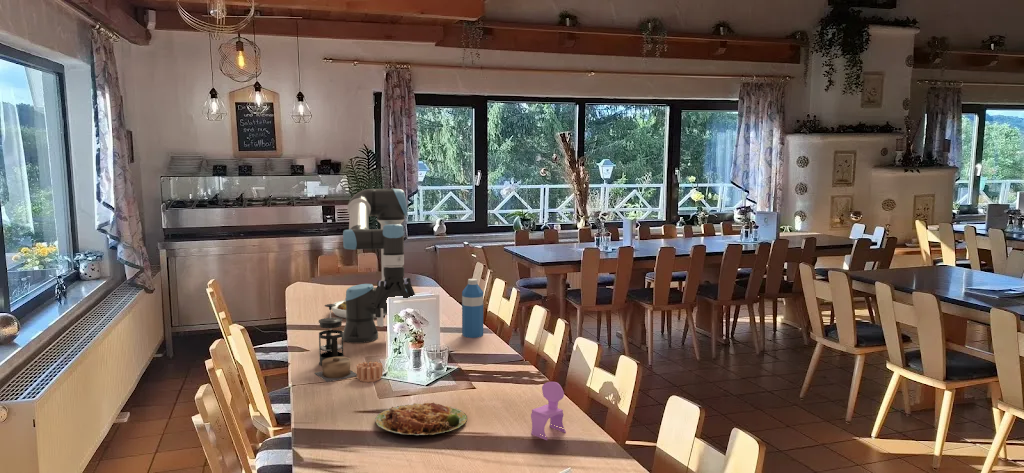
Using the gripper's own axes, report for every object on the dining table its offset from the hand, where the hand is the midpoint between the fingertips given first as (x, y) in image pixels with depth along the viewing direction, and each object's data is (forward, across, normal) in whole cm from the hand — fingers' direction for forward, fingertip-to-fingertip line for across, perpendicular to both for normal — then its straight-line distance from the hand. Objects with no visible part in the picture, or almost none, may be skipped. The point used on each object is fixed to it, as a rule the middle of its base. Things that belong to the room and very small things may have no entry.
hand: (394, 323), depth 267 cm
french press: (+17, -9, +27) cm, 33 cm away
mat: (+18, -16, +14) cm, 28 cm away
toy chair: (+24, -8, -77) cm, 81 cm away
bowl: (+10, +50, +85) cm, 99 cm away
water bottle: (+14, +57, +15) cm, 61 cm away
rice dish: (+23, -26, -43) cm, 55 cm away
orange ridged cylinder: (+18, -11, +1) cm, 22 cm away
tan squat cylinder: (+18, -16, +14) cm, 28 cm away
